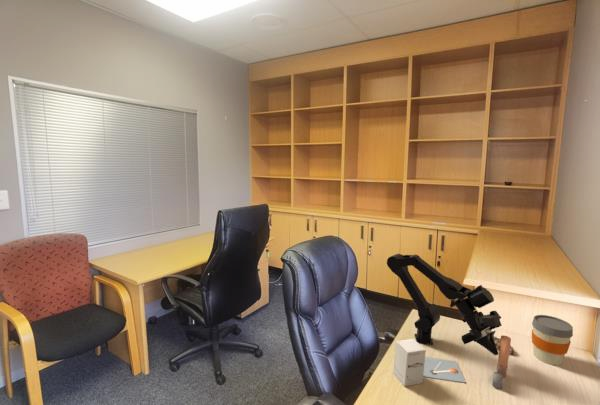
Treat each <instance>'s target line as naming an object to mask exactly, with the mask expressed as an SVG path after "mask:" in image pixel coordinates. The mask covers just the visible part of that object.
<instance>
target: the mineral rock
mask: <svg viewBox="0 0 600 405" xmlns="http://www.w3.org/2000/svg"><path fill="white" fill-rule="evenodd" d="M500 340H501V337H500V338H499V337H497V336H494V341H495V344H496V347H497V351H498V352H499V348H500ZM515 352H516V351H515V349H514V347H513V346H511V345H510V351H509V356H510V355H511V356H515Z"/></svg>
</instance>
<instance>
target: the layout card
mask: <svg viewBox="0 0 600 405" xmlns="http://www.w3.org/2000/svg"><path fill="white" fill-rule="evenodd" d="M423 378H428V379H433V380H434V379H435V380H442V381H449V382H455V383H460V384H461V383H462V384H466V383H467V382H466V380H465V378H464V375H463V373H462V370H461V369H460V366H459V364H458V362H457V360H452V359H451V360H450V359H442V358H434V357H429V356H425V363H424V373H423Z"/></svg>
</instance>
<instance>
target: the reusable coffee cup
mask: <svg viewBox="0 0 600 405" xmlns="http://www.w3.org/2000/svg"><path fill="white" fill-rule="evenodd" d="M531 325H532V329H531V343H532V345H533V346H532V348H533V349H532V350H533V356H534V357H535V358H536V359H537V360H538V361H541V362H542V363H544V364H547V365H551V366H561V365H562V363H563V360H564V359H565V355H566V354H568V351H569V349H570V345H571V342H572V340H571V338H572V337H573V336H574V335H573V334H574V327H573V325H571V323H569V322H568V321H565V320H564V319H561V318H558V317H555V316H552V315H545V314H537V315H534V316H533V319H532V321H531Z"/></svg>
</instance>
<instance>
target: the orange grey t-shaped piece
mask: <svg viewBox="0 0 600 405" xmlns="http://www.w3.org/2000/svg"><path fill="white" fill-rule="evenodd" d="M500 338H501V340H500V348H499V351H498V355H497V356H498V358H497V367H496V371H494V372H493V375H492V381H491V384H492V386H493V387H494V388H495V389H498V390H500V389H502V386H503V380H504V379H503V378H506V377H507V372H508V365H509V359H510V355H509V351H510V346H511V341H512V338H511V337H509V336H508V335H501V336H500Z"/></svg>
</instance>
